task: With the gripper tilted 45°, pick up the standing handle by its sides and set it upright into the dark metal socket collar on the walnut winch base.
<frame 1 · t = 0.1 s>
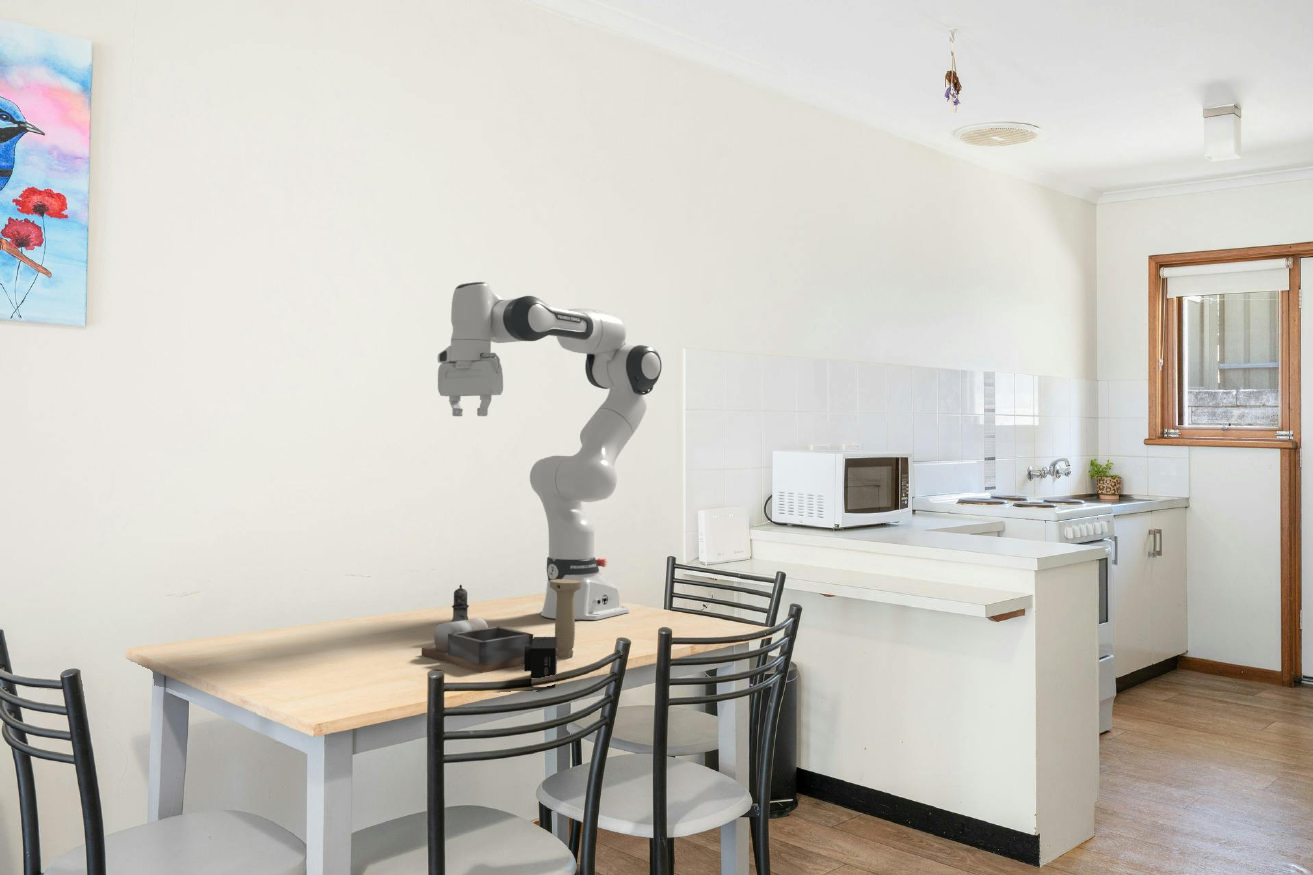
hand: (469, 416, 227), 48 cm above the table, tool pointing down, fingers open, 8 cm apart
winch base: (476, 658, 199), on the table
dark grey chess piece: (459, 641, 217), on the table
handle: (564, 657, 202), on the table
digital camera: (540, 681, 182), on the table
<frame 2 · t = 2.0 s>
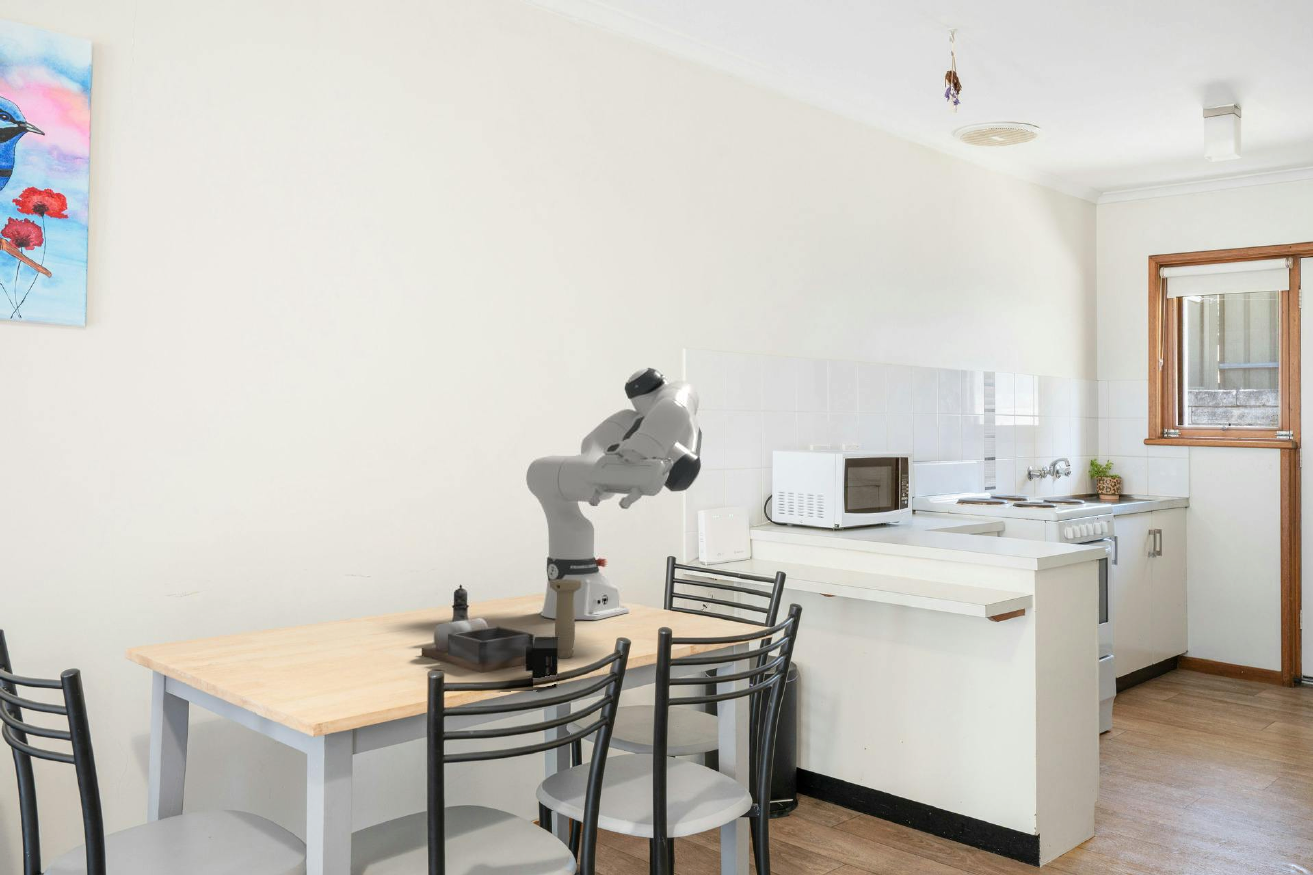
hand: (607, 505, 210), 30 cm above the table, tool tilted 45°, fingers open, 8 cm apart
nothing on the table moved.
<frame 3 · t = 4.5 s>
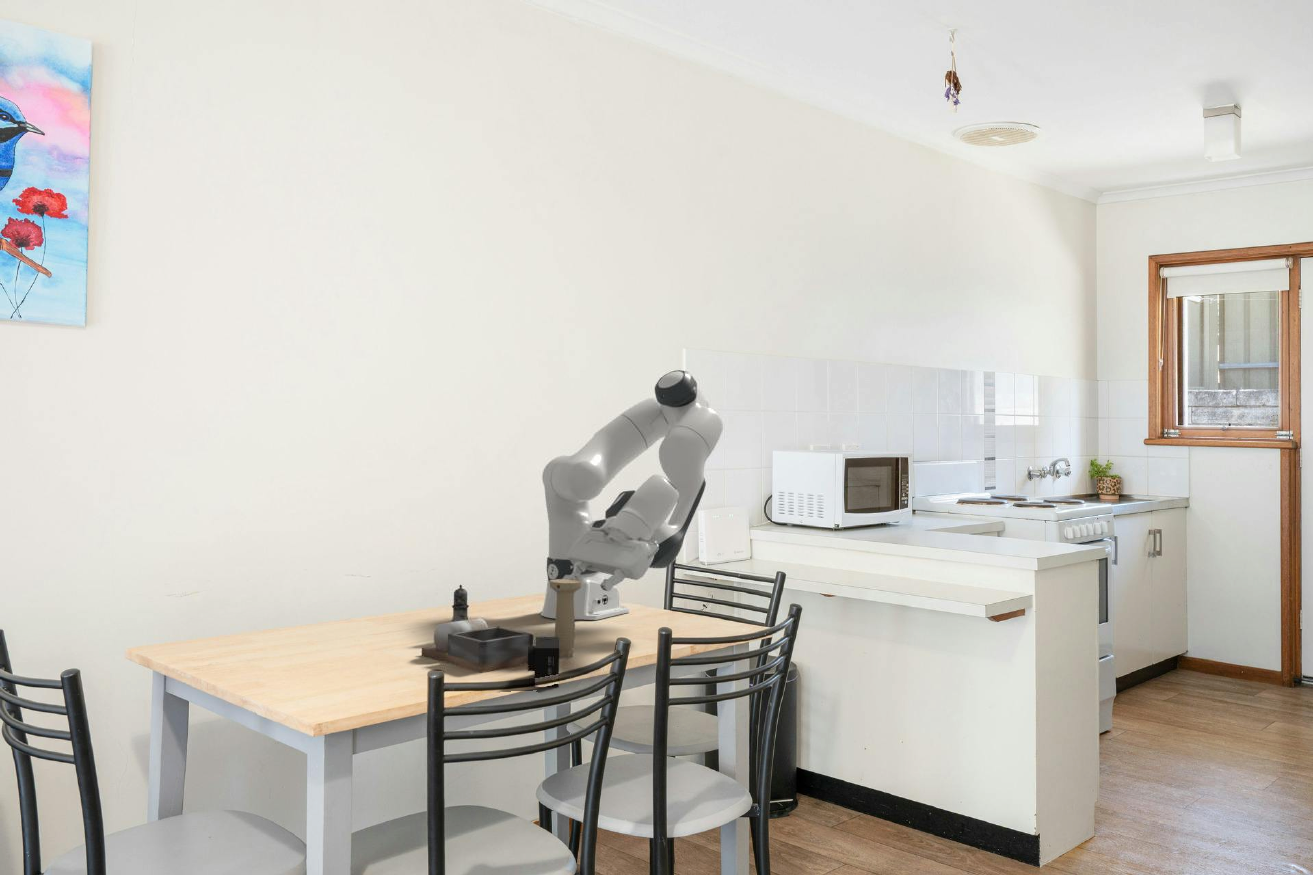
hand: (588, 585, 206), 14 cm above the table, tool tilted 50°, fingers open, 8 cm apart
nothing on the table moved.
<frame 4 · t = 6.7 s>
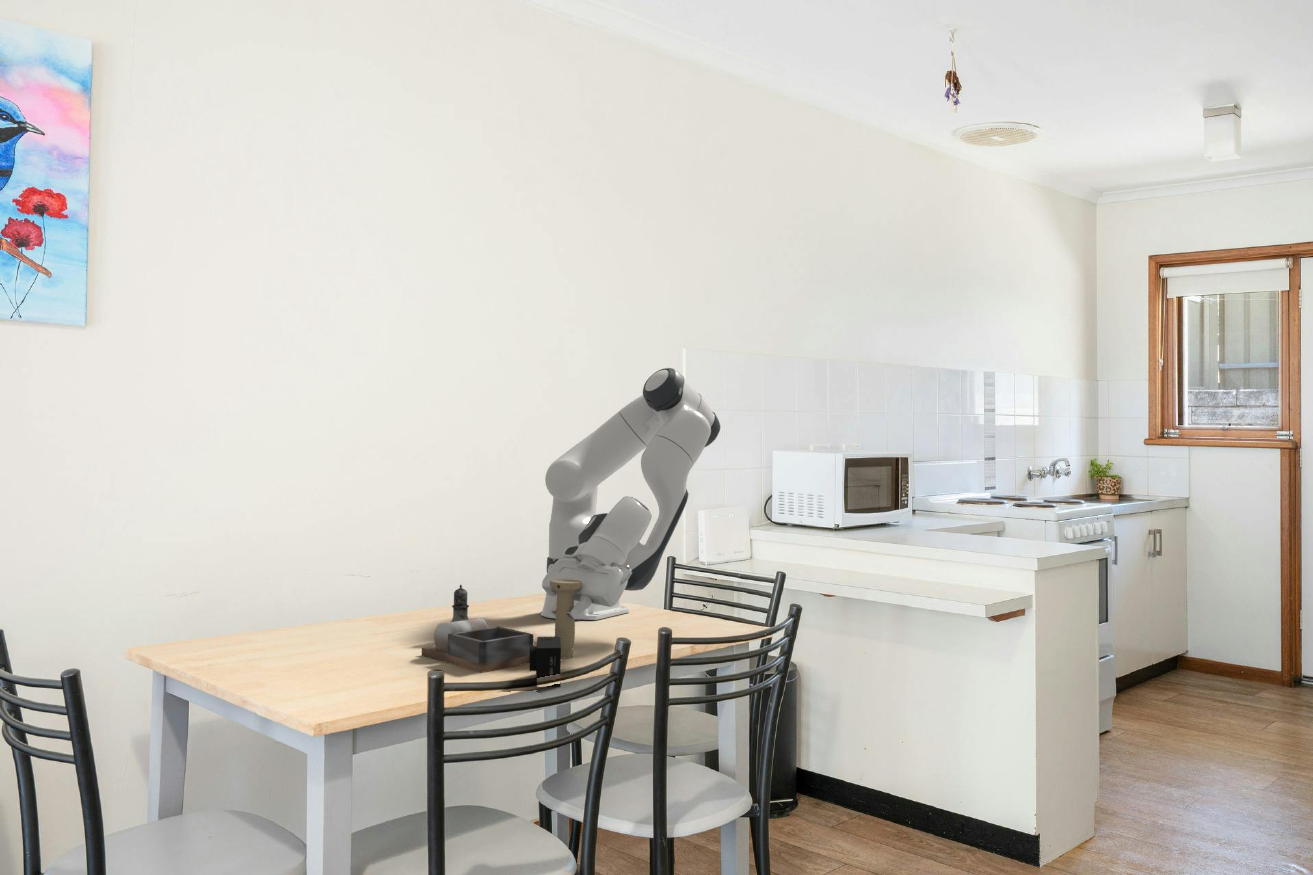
hand: (562, 614, 202), 8 cm above the table, tool tilted 45°, fingers closed on handle, 3 cm apart
handle: (564, 657, 202), on the table, touching gripper
everything else where it was.
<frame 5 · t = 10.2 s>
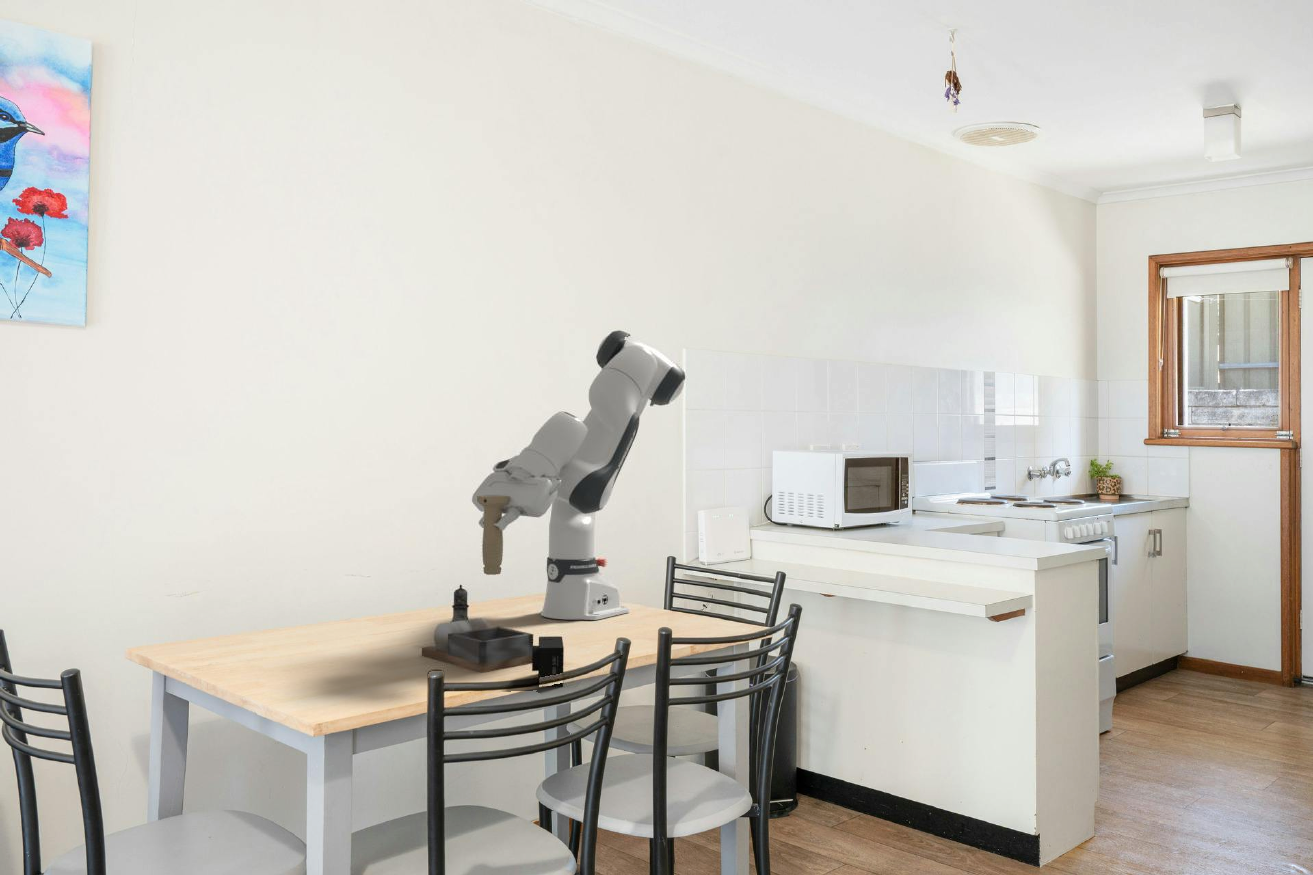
hand: (490, 527, 196), 26 cm above the table, tool tilted 45°, fingers closed on handle, 3 cm apart
handle: (492, 575, 196), point 17 cm above the table, touching gripper
when the fingers open (11 cm above the table, at t = 14.0 s): handle stays where it is, resting on winch base.
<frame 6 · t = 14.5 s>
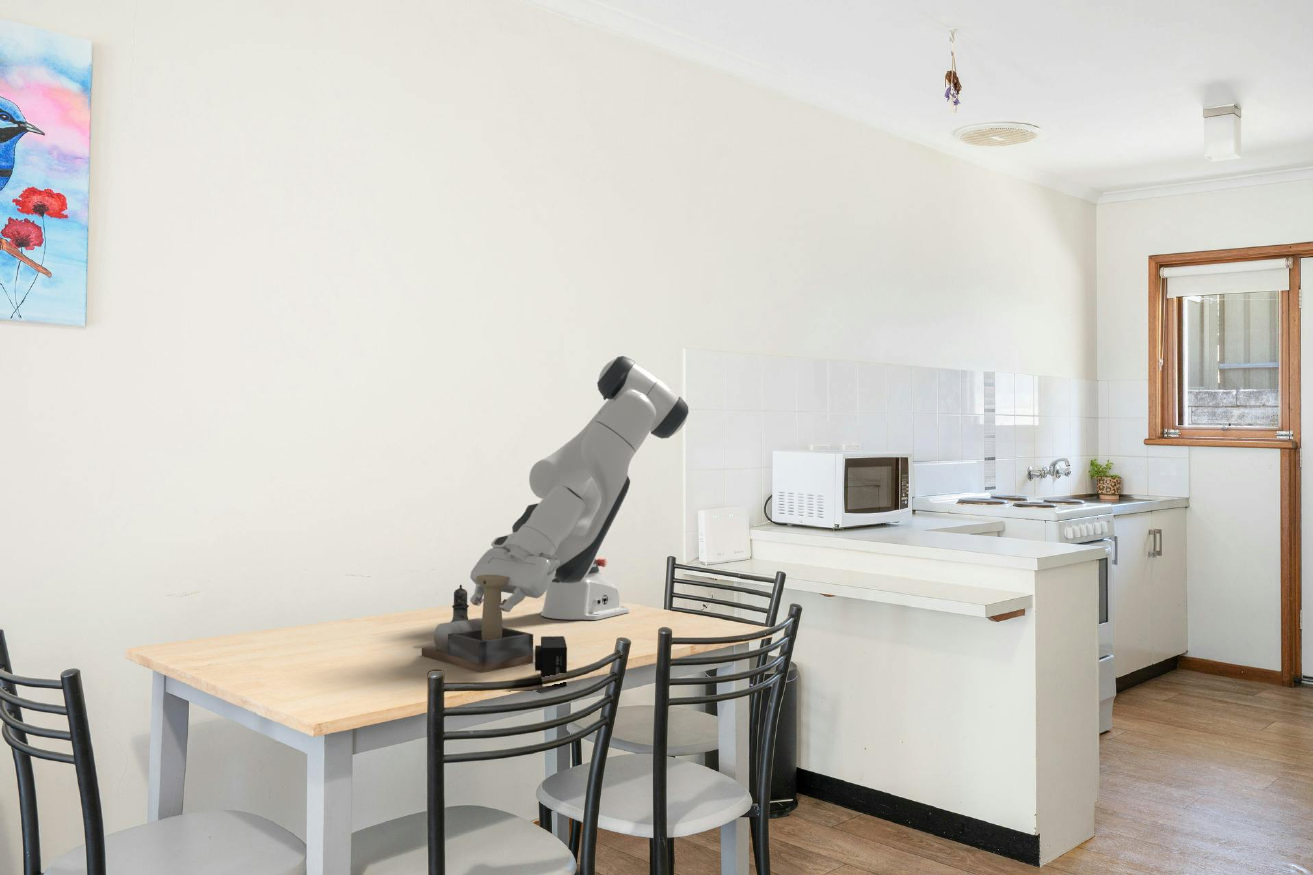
hand: (488, 606, 195), 11 cm above the table, tool tilted 45°, fingers open, 8 cm apart
handle: (491, 655, 196), point 1 cm above the table, touching winch base
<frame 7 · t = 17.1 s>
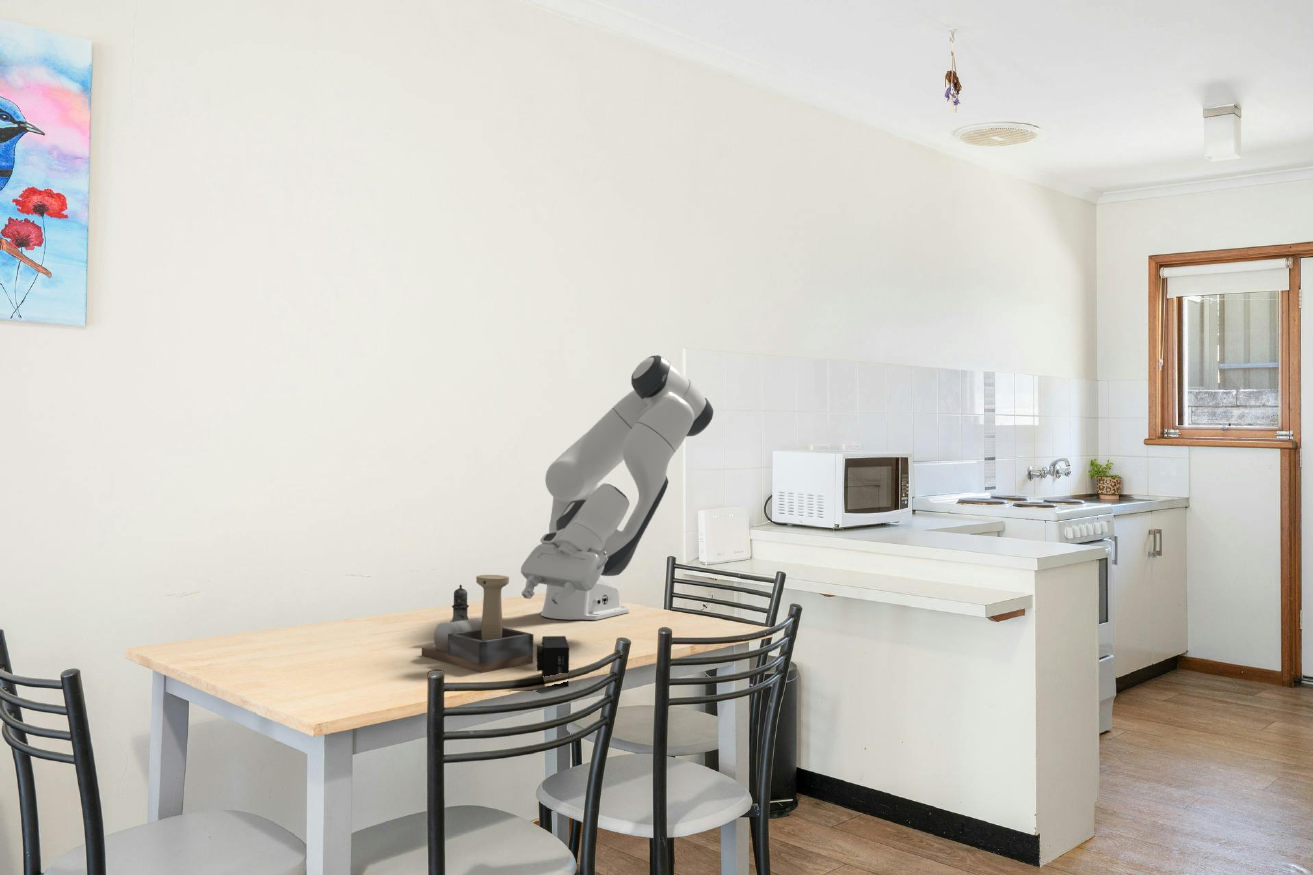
hand: (540, 599, 205), 11 cm above the table, tool tilted 45°, fingers open, 8 cm apart
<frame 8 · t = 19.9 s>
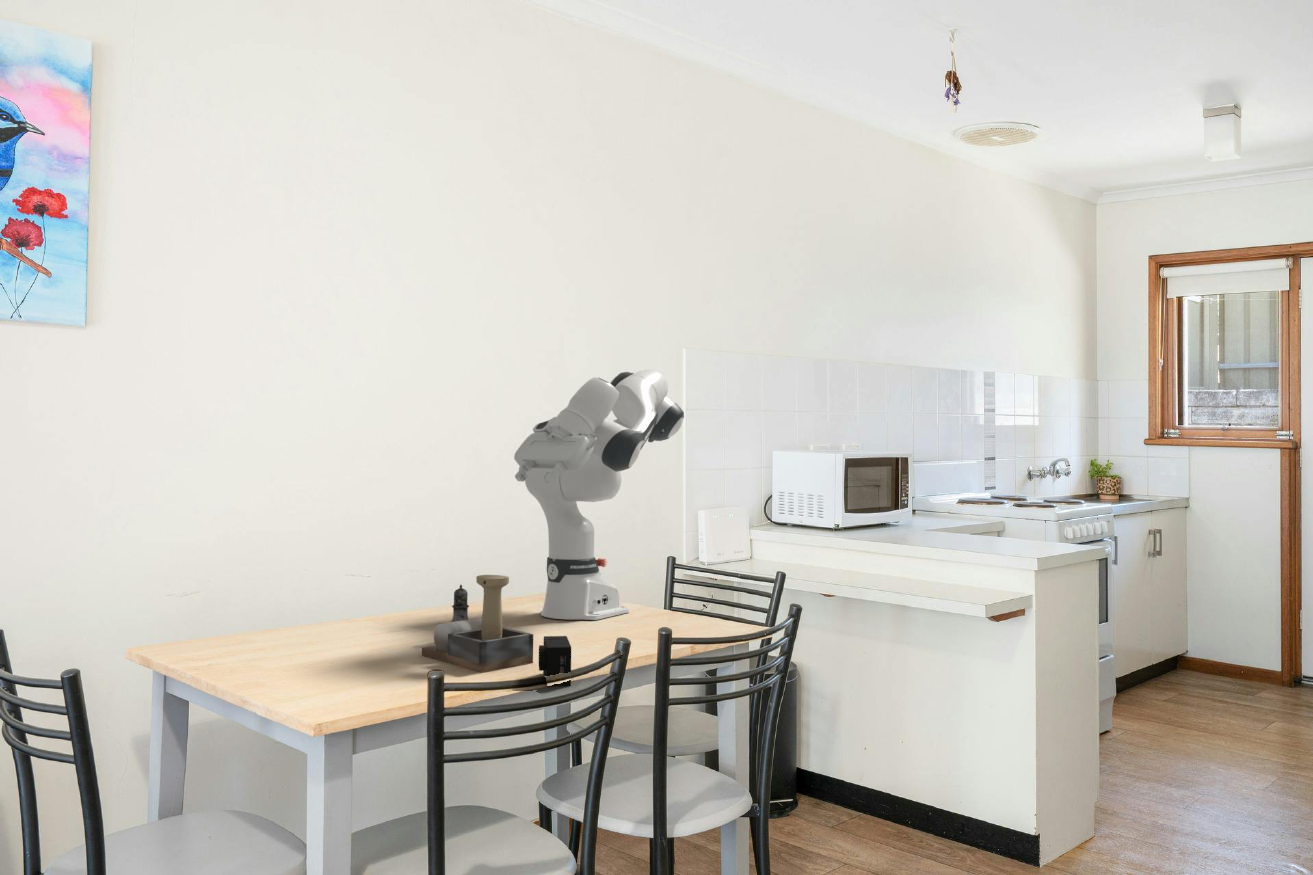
hand: (532, 480, 215), 34 cm above the table, tool tilted 45°, fingers open, 8 cm apart
at the end: handle 0.2 cm from the target spot on the winch base, point 1.3 cm above the winch base's base; handle tilted 0°; the gripper is holding nothing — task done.
